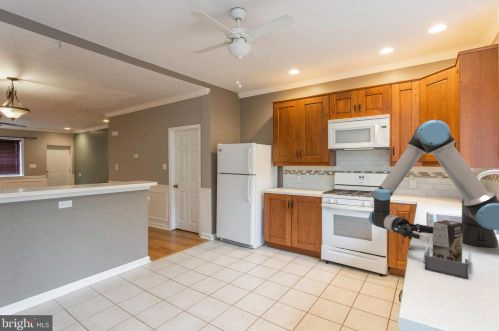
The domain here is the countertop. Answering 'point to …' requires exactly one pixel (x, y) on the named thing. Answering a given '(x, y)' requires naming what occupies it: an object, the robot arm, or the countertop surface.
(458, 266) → the gray u-shaped bracket
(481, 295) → the countertop surface
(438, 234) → the coffee box
